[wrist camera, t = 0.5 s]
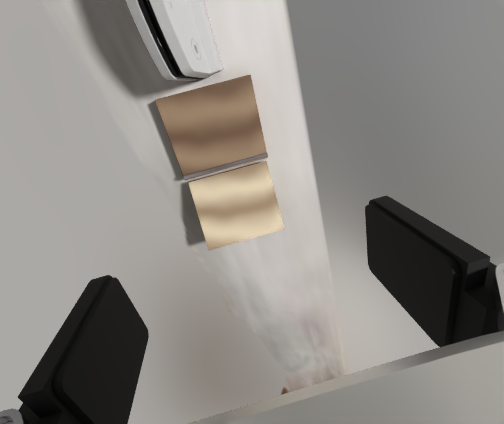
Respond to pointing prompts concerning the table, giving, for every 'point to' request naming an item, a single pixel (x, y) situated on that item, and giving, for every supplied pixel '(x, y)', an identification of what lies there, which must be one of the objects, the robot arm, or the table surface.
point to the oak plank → (236, 205)
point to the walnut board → (214, 127)
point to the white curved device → (178, 37)
